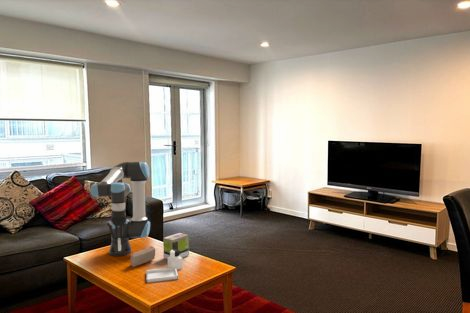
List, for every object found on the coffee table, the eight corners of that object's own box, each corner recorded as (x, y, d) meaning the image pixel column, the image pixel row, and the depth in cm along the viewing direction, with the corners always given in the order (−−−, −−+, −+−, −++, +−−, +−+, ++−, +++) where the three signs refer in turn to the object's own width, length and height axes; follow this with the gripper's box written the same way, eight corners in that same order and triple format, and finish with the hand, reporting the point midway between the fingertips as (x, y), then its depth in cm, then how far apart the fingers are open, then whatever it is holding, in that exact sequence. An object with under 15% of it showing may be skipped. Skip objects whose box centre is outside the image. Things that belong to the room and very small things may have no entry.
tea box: (179, 252, 247) (179, 232, 246) (189, 255, 240) (189, 234, 239) (163, 258, 235) (162, 237, 234) (172, 261, 229) (172, 240, 228)
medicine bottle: (177, 265, 223) (176, 247, 222) (183, 268, 218) (182, 250, 217) (167, 268, 219) (167, 249, 218) (173, 271, 213) (172, 252, 212)
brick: (133, 257, 217) (130, 253, 220) (132, 267, 220) (129, 263, 223) (156, 248, 228) (152, 245, 231) (155, 259, 231) (151, 255, 234)
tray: (146, 273, 210) (146, 270, 210) (176, 270, 215) (176, 267, 214) (146, 282, 197) (146, 279, 197) (178, 279, 201) (178, 275, 201)
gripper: (105, 211, 191) (106, 253, 193) (130, 210, 195) (131, 251, 196) (107, 209, 199) (108, 248, 200) (130, 207, 202) (131, 246, 203)
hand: (119, 250), depth 198 cm, fingers closed
